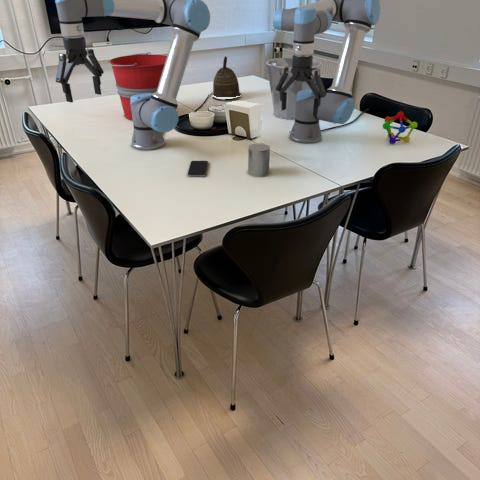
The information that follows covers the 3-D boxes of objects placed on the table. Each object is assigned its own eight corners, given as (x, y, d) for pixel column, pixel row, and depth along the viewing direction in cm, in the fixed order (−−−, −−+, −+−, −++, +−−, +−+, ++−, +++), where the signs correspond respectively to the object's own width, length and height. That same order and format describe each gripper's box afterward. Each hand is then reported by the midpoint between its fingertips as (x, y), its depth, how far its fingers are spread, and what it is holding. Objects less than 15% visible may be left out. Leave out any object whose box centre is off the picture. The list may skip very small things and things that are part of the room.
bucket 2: (291, 125, 232) (295, 70, 217) (253, 113, 251) (254, 61, 236) (327, 115, 249) (333, 62, 234) (289, 104, 267) (292, 55, 253)
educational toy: (377, 146, 209) (379, 114, 202) (384, 138, 219) (386, 107, 211) (411, 149, 202) (415, 116, 195) (417, 141, 212) (420, 109, 204)
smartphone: (187, 174, 176) (191, 160, 188) (187, 176, 176) (191, 162, 189) (205, 175, 176) (208, 160, 188) (205, 176, 176) (208, 162, 189)
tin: (243, 172, 180) (244, 147, 174) (257, 166, 185) (257, 141, 179) (259, 178, 175) (260, 152, 169) (273, 172, 180) (274, 146, 175)
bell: (227, 105, 294) (202, 96, 282) (238, 66, 289) (213, 55, 277) (243, 108, 280) (217, 98, 268) (255, 66, 275) (229, 55, 263)
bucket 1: (123, 105, 263) (116, 51, 247) (182, 106, 262) (179, 52, 247) (107, 123, 234) (97, 63, 218) (173, 124, 233) (168, 64, 217)
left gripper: (50, 41, 145) (63, 106, 157) (107, 33, 163) (115, 92, 174) (36, 39, 149) (50, 103, 160) (93, 32, 167) (102, 89, 178)
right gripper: (268, 53, 166) (266, 109, 177) (330, 60, 155) (325, 119, 166) (277, 50, 171) (275, 105, 183) (338, 56, 160) (332, 114, 172)
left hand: (84, 97), depth 167 cm, fingers open, 13 cm apart
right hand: (299, 112), depth 175 cm, fingers open, 13 cm apart
